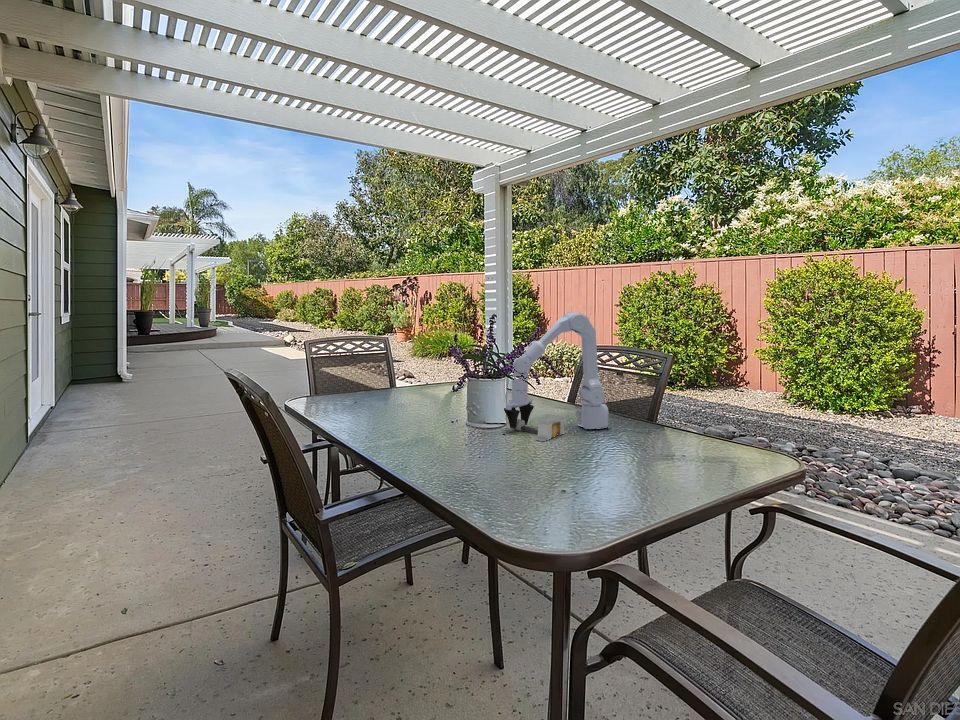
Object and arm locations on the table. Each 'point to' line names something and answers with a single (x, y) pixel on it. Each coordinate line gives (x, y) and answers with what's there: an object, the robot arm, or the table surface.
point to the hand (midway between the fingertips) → (518, 426)
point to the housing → (549, 427)
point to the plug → (522, 426)
